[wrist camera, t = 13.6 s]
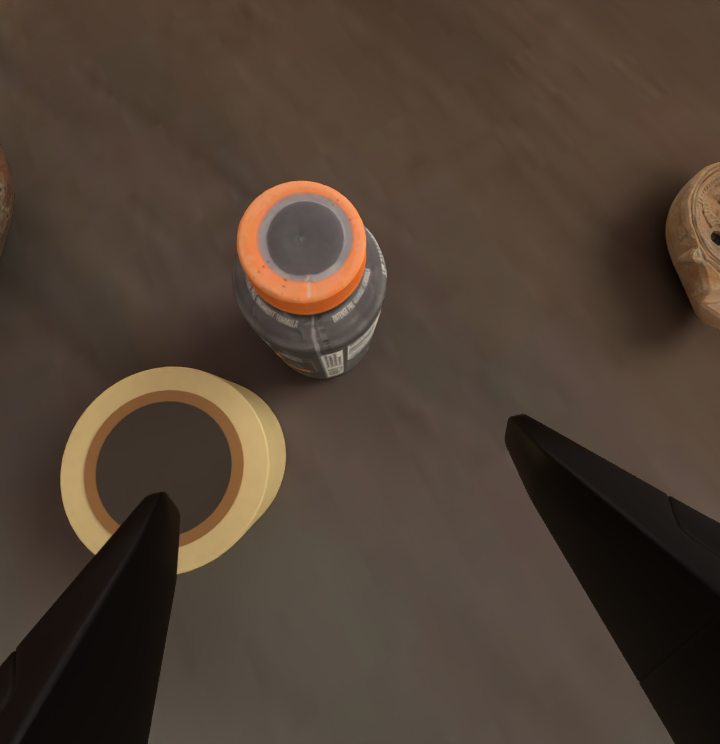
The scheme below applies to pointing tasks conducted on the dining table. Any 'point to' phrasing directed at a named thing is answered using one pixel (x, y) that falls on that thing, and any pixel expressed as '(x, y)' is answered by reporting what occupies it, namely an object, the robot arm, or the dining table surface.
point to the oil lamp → (698, 242)
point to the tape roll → (174, 459)
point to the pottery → (5, 199)
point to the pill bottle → (309, 277)
